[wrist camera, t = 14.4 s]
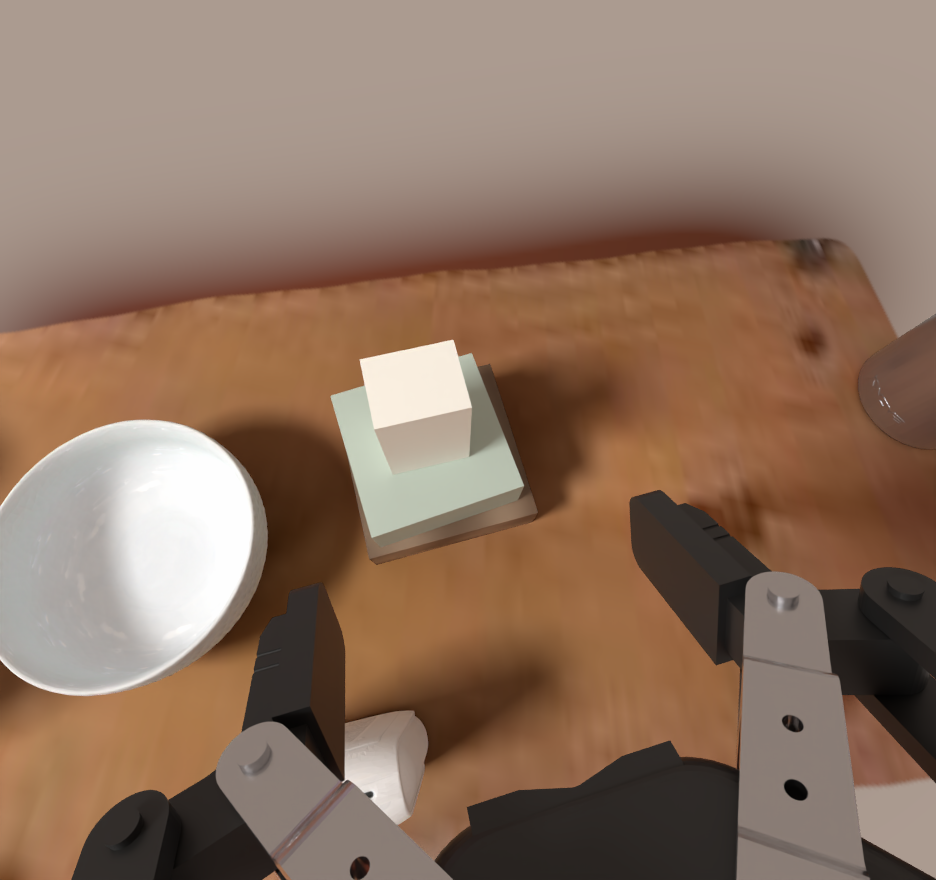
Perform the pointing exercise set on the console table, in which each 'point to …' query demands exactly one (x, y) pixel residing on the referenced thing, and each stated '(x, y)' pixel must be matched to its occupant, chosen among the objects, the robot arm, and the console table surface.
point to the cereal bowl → (126, 557)
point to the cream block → (419, 406)
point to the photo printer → (387, 760)
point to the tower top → (428, 469)
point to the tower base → (475, 524)
